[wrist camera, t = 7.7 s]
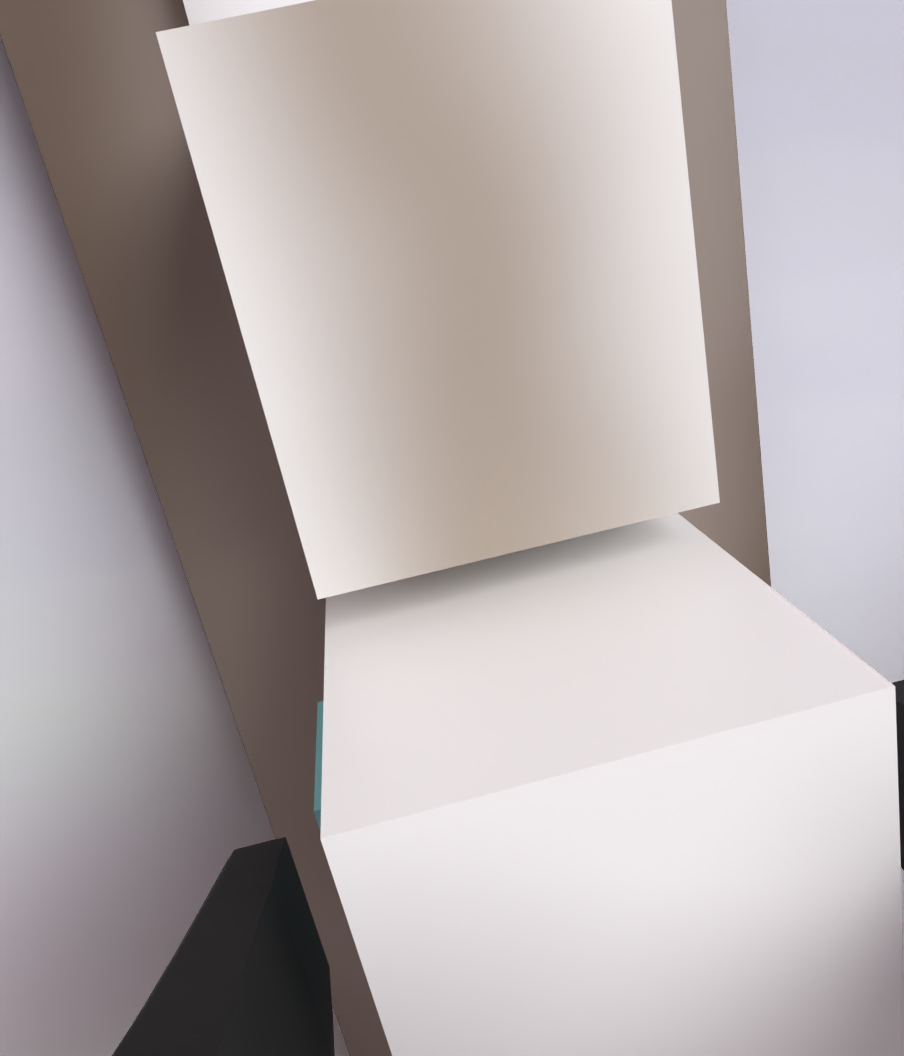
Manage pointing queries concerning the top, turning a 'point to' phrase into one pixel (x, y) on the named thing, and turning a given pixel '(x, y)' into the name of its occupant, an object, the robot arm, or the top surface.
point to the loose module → (611, 808)
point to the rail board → (222, 399)
